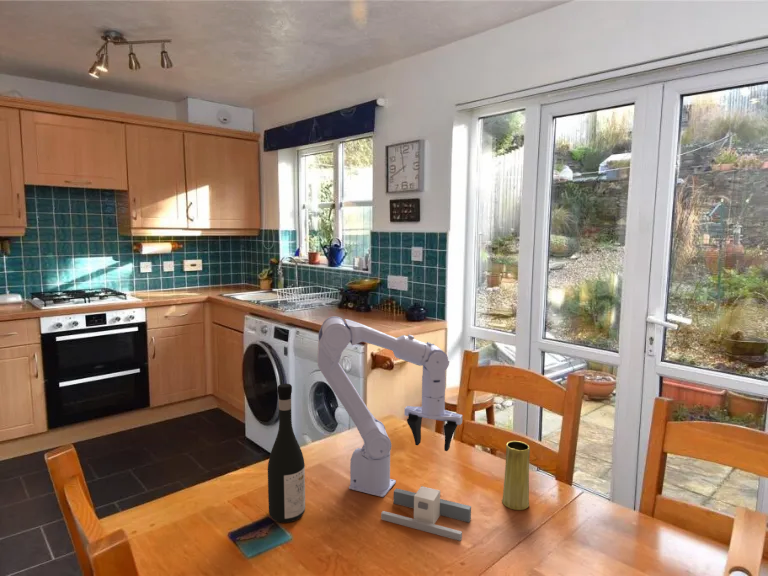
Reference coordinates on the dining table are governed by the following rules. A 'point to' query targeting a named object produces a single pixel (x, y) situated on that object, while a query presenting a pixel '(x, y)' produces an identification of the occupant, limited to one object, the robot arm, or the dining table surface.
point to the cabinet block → (427, 505)
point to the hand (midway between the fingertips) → (432, 446)
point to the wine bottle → (286, 467)
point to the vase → (516, 476)
